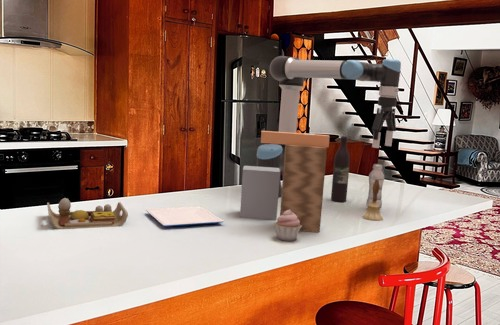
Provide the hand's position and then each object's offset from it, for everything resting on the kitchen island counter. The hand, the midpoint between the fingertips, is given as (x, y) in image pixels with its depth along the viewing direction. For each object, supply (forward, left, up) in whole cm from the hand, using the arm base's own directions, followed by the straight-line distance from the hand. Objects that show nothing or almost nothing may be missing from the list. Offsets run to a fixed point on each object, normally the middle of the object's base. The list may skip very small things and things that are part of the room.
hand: (381, 146), depth 217 cm
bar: (-11, -53, +2) cm, 54 cm away
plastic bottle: (-1, 0, -28) cm, 28 cm away
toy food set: (-62, -103, -29) cm, 123 cm away
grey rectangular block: (-28, -49, -28) cm, 63 cm away
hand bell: (+5, -15, -28) cm, 32 cm away
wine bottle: (-20, +4, -28) cm, 35 cm away
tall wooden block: (-8, -51, -28) cm, 58 cm away
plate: (-42, -76, -28) cm, 91 cm away
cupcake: (-3, -67, -28) cm, 73 cm away
